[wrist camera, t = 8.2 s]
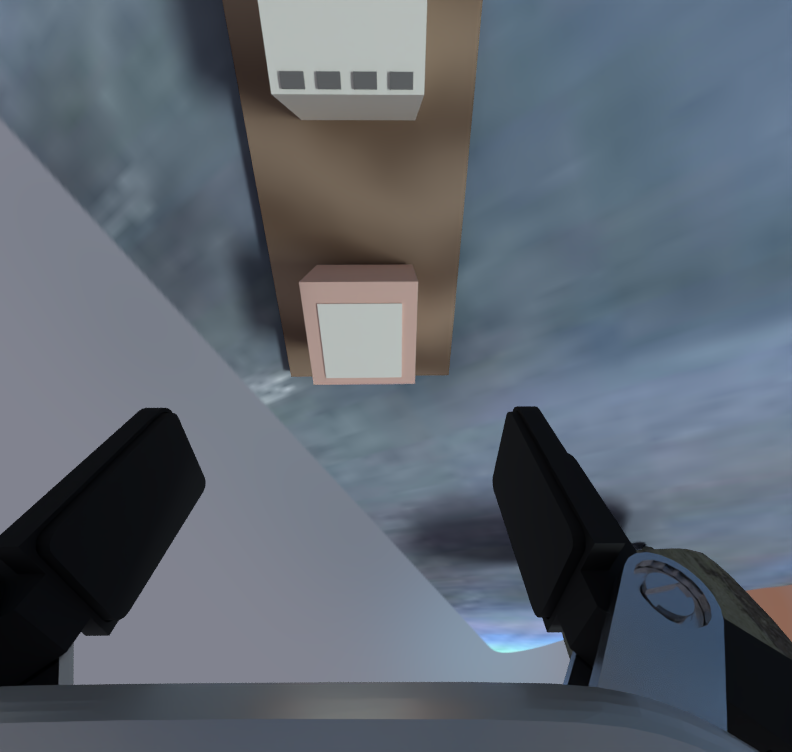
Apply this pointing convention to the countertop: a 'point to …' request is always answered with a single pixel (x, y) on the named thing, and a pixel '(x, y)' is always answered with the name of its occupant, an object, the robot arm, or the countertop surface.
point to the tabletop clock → (727, 598)
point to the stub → (361, 323)
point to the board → (365, 179)
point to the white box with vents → (346, 57)
